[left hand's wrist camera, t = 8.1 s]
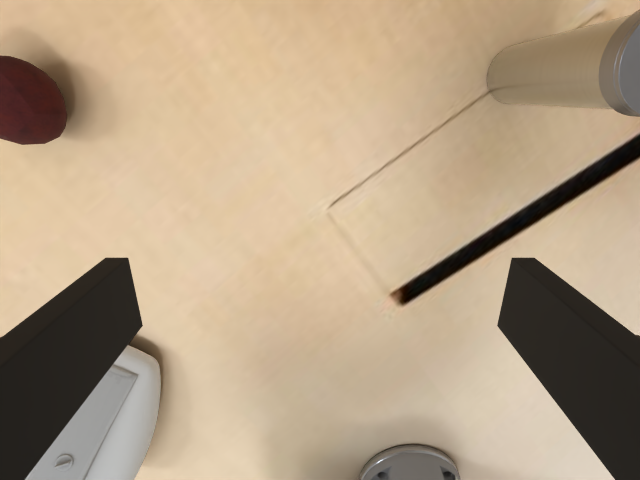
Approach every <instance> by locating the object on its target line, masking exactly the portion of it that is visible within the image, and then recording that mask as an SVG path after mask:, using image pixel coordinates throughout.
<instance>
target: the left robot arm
mask: <svg viewBox="0 0 640 480" xmlns="http://www.w3.org/2000/svg"><path fill="white" fill-rule="evenodd" d="M142 326H143V325H142V320H141V316H140V311H139V306H138V302H137V297H136V292H135V288H134V283H133V278H132V274H131V269H130V264H129V260H128V258H105V259H104V260H102V261H101V262H100V263H98V264H97V265H96V266H94V267H93V268H92V269H90V270H89V271H88V272H87V273H85V274H84V275H83V276H81V277H80V278H79V279H77V280H76V281H75V282H73V283H72V284H71V285H70V286H68V287H67V288H66V289H64V290H63V291H62V292H60V293H59V294H58V295H56V296H55V297H54V298H53V299H51V300H50V301H49V302H47V303H46V304H45V305H43V306H42V307H41V308H39V309H38V310H37V311H36V312H34V313H33V314H32V315H30V316H29V317H28V318H26V319H25V320H24V321H22V322H21V323H20V324H19V325H17V326H16V327H15V328H13V329H12V330H11V331H9V332H8V333H7V334H6V335H4V336H3V337H0V480H25V479H26V477H27V476H28V475H29V474H30V472H31V471H32V470H33V468H34V467H35V466H36V464H37V463H38V462H39V460H40V459H41V458H42V457H43V455H44V454H45V453H46V451H47V450H48V449H49V447H50V446H51V445H52V443H53V442H54V441H55V440H56V438H57V437H58V436H59V434H60V433H61V432H62V430H63V429H64V428H65V426H66V425H67V424H68V423H69V421H70V420H71V419H72V417H73V416H74V415H75V413H76V412H77V411H78V409H79V408H80V407H81V406H82V404H83V403H84V402H85V400H86V399H87V398H88V396H89V395H90V394H91V392H92V391H93V390H94V389H95V387H96V386H97V385H98V383H99V382H100V381H101V379H102V378H103V377H104V375H105V374H106V373H107V372H108V370H109V369H110V368H111V366H112V365H113V364H114V362H115V361H116V360H117V358H118V357H119V356H120V355H121V353H122V352H123V351H124V349H125V348H126V347H127V345H128V344H129V343H130V342H131V340H132V339H133V338H134V336H135V335H136V334H137V332H138V331H139V330H140V328H141V327H142ZM497 326H498V327H499V328H500V330H501V331H502V332H503V334H504V335H505V336H506V338H507V339H508V340H509V342H510V343H511V344H512V345H513V347H514V348H515V349H516V351H517V352H518V353H519V355H520V356H521V357H522V358H523V360H524V361H525V362H526V364H527V365H528V366H529V368H530V369H531V370H532V372H533V373H534V374H535V375H536V377H537V378H538V379H539V381H540V382H541V383H542V385H543V386H544V387H545V389H546V390H547V391H548V392H549V394H550V395H551V396H552V398H553V399H554V400H555V402H556V403H557V404H558V406H559V407H560V408H561V409H562V411H563V412H564V413H565V415H566V416H567V417H568V419H569V420H570V421H571V423H572V424H573V425H574V426H575V428H576V429H577V430H578V432H579V433H580V434H581V436H582V437H583V438H584V440H585V441H586V442H587V443H588V445H589V446H590V447H591V449H592V450H593V451H594V453H595V454H596V455H597V457H598V458H599V459H600V460H601V462H602V463H603V464H604V466H605V467H606V468H607V470H608V471H609V472H610V474H611V475H612V476H613V477H614V479H615V480H640V336H639V335H634V334H633V333H632V332H631V331H629V330H628V329H627V328H625V327H624V326H623V325H621V324H620V323H619V322H618V321H616V320H615V319H614V318H612V317H611V316H610V315H608V314H607V313H606V312H604V311H603V310H602V309H601V308H599V307H598V306H597V305H595V304H594V303H593V302H591V301H590V300H589V299H587V298H586V297H585V296H584V295H582V294H581V293H580V292H578V291H577V290H576V289H574V288H573V287H572V286H570V285H569V284H568V283H567V282H565V281H564V280H563V279H561V278H560V277H559V276H557V275H556V274H555V273H553V272H552V271H551V270H550V269H548V268H547V267H546V266H544V265H543V264H542V263H540V262H539V261H538V260H536V259H535V258H512V260H511V264H510V269H509V274H508V278H507V283H506V288H505V292H504V297H503V302H502V306H501V311H500V316H499V320H498V325H497ZM359 480H460V476H459V473H458V471H457V468H456V465H455V464H454V462H453V461H452V460H451V458H450V457H448V456H447V455H446V454H445V453H443V452H441V451H439V450H437V449H435V448H432V447H428V446H422V445H404V446H398V447H394V448H390V449H388V450H385V451H383V452H381V453H379V454H377V455H376V456H374V457H373V458H372V459H371V460H370V461H368V463H367V464H366V465H365V466H364V468H363V469H362V471H361V474H360V478H359Z"/></svg>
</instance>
